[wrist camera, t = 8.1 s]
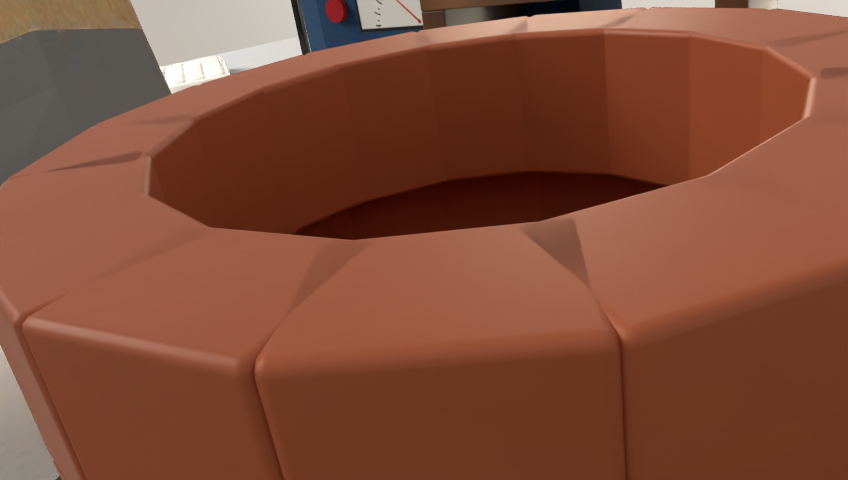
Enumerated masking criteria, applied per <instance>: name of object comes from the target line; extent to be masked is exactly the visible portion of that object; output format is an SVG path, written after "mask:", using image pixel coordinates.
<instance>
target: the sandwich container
mask: <svg viewBox="0 0 848 480" xmlns="http://www.w3.org/2000/svg"><path fill="white" fill-rule="evenodd" d="M171 94H172V93H171V91H170V89H169V87H168V84H167V82H166V80H165V78H164V76H163V74H162V71H161V69H160V67H159V65H158V63H157V60H156V58H155V56H154V54H153V52H152V49H151V47H150V45H149V43H148V41H147V38H146V36H145V34H144V32H143V29H142V27H141V25H140V22H139V20H138V18H137V15H136V13H135V11H134V8H133V6H132V4H131V1H130V0H0V187H1V185H2V184H3V183H4V182H6V181H7V180H8V178H10V177H11V176H13V175H14V174H16V173H18V172H19V171H21V170H22V169H24V168H26V167H27V166H29V165H31V164H32V163H34V162H35V161H37V160H39V159H40V158H42V157H43V156H45V155H47V154H48V153H50V152H52V151H53V150H55V149H56V148H58V147H60V146H61V145H63V144H65V143H66V142H68V141H69V140H71V139H73V138H74V137H76V136H78V135H79V134H81V133H82V132H84V131H86V130H87V129H89V128H91V127H92V126H95V125H96V124H98V123H100V122H103V121H105V120H108V119H110V118H113V117H115V116H118V115H120V114H123V113H125V112H128V111H130V110H133V109H135V108H138V107H140V106H143V105H145V104H148V103H151V102H153V101H156V100H158V99H161V98H163V97H166V96H168V95H171Z"/></svg>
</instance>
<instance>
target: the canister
mask: <svg viewBox="0 0 848 480" xmlns="http://www.w3.org/2000/svg"><path fill="white" fill-rule="evenodd" d="M0 345H1V347H2V349H3V351H4V353H5V356H6V358H7V360H8V362H9V364H10V367H11V369H12V371H13V373H14V375H15V378H16V380H17V382H18V384H19V386H20V389H21V391H22V393H23V395H24V397H25V400H26V402H27V404H28V406H29V409H30V411H31V413H32V415H33V417H34V420H35V422H36V424H37V426H38V428H39V431H40V433H41V435H42V437H43V439H44V442H45V444H46V446H47V448H48V450H49V452H50V454H51V456H52V457H53V459H54V464H55V466H56V469H57V471H58V473H59V475H60V477H61V480H848V17H839V16H832V15H824V14H815V13H808V12H800V11H792V10H783V9H776V8H774V9H770V10H768V9H766V8H678V7H676V8H672V7H652V8H649V9H646V8H631V9H616V10H601V11H587V12H572V13H558V14H543V15H534V16H532V17H527V16H522V17H515V18H508V19H500V20H493V21H486V22H478V23H471V24H464V25H457V26H449V27H442V28H435V29H427V30H420V31H419V32H417V33H416V32H413V31H412V32H408V33H403V34H398V35H393V36H388V37H383V38H378V39H373V40H369V41H364V42H359V43H354V44H349V45H344V46H339V47H334V48H330V49H325V50H320V51H315V52H310V53H307V54H306V55H299V56H296V57H292V58H289V59H285V60H282V61H278V62H275V63H271V64H268V65H264V66H261V67H257V68H254V69H250V70H247V71H243V72H240V73H236V74H233V75H229V76H226V77H222V78H219V79H215V80H212V81H208V82H205V83H202V84H201V85H193V86H191V87H188V88H186V89H183V90H181V91H178V92H176V93H173V94H171V95H168V96H166V97H163V98H161V99H158V100H156V101H153V102H151V103H148V104H145V105H143V106H140V107H138V108H135V109H133V110H130V111H128V112H125V113H123V114H120V115H118V116H115V117H113V118H110V119H108V120H105V121H103V122H100V123H98V124H96V125H95V126H92V127H91V128H89V129H87V130H86V131H84V132H82V133H81V134H79V135H78V136H76V137H74V138H73V139H71V140H69V141H68V142H66V143H65V144H63V145H61V146H60V147H58V148H56V149H55V150H53V151H52V152H50V153H48V154H47V155H45V156H43V157H42V158H40V159H39V160H37V161H35V162H34V163H32V164H31V165H29V166H27V167H26V168H24V169H22V170H21V171H19V172H18V173H16V174H14V175H13V176H11V177H10V178H8V180H7V181H6V182H4V183H3V184H2V185H1V187H0Z"/></svg>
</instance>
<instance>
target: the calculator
mask: <svg viewBox="0 0 848 480" xmlns="http://www.w3.org/2000/svg"><path fill="white" fill-rule="evenodd" d="M160 69H161V71H162V74H163V76H164V78H165V80H166V82H167V84H168V87H169V89H170V91H171V93H172V94H173V93H176V92H178V91H181V90H183V89H186V88H188V87H191V86H193V85H201V84H202V83H205V82H208V81H212V80H215V79H219V78H222V77H226V76H229V75H231V74H230V72H229V70H228V68H227V65H226V63H225V61H224V59H223V58H222V57H217V56H210V57H205V58H200V59H195V60H191V61H188V63H183V64H182V63H175V64H172V65H170V66H168V67H160Z"/></svg>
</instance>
